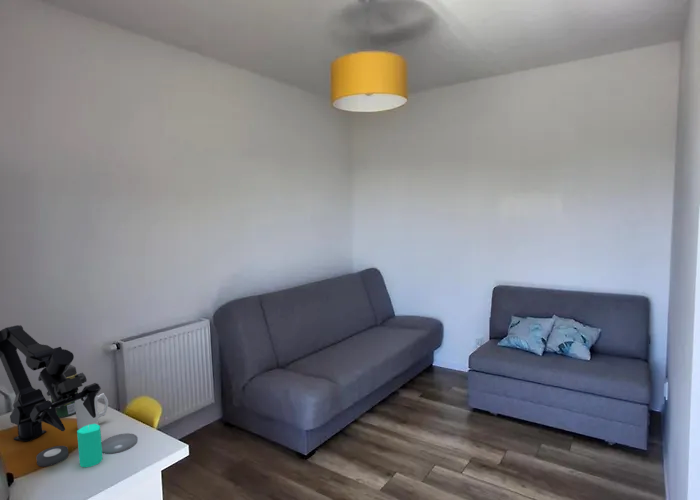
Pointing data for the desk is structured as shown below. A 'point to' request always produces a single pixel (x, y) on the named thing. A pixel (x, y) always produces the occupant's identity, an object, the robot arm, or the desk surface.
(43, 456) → the dark grey washer
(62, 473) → the desk surface
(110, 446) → the slate coaster
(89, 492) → the desk surface
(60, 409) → the coffee jar
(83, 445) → the candle
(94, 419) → the mug
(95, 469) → the desk surface
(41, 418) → the robot arm
